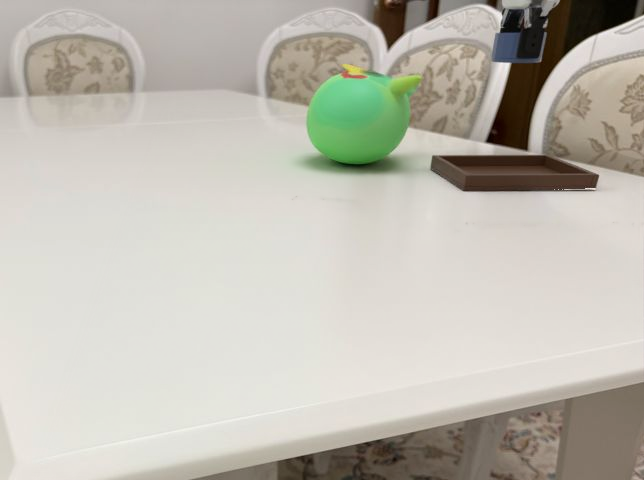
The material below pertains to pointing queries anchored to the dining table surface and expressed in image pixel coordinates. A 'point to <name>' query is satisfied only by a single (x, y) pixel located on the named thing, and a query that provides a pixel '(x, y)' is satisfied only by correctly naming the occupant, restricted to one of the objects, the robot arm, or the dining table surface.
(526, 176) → the serving tray
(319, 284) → the dining table surface
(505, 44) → the blue bowl
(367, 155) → the toy bird
